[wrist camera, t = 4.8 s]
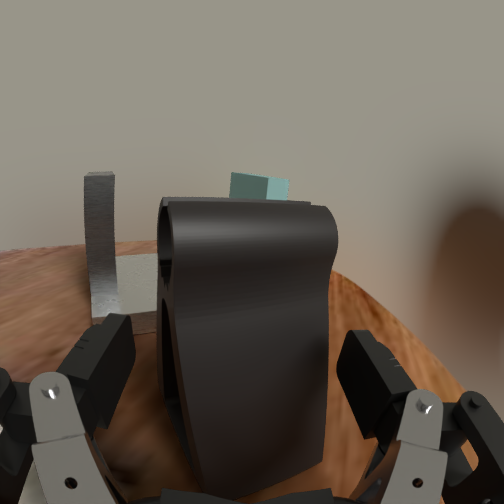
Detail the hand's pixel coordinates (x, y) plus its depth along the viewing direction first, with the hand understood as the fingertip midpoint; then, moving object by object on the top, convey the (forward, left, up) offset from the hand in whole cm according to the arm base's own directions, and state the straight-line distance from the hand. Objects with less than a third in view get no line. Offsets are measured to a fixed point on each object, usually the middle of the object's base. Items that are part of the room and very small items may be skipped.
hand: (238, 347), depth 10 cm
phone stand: (0, +2, -7) cm, 7 cm away
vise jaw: (+2, +23, -5) cm, 24 cm away
